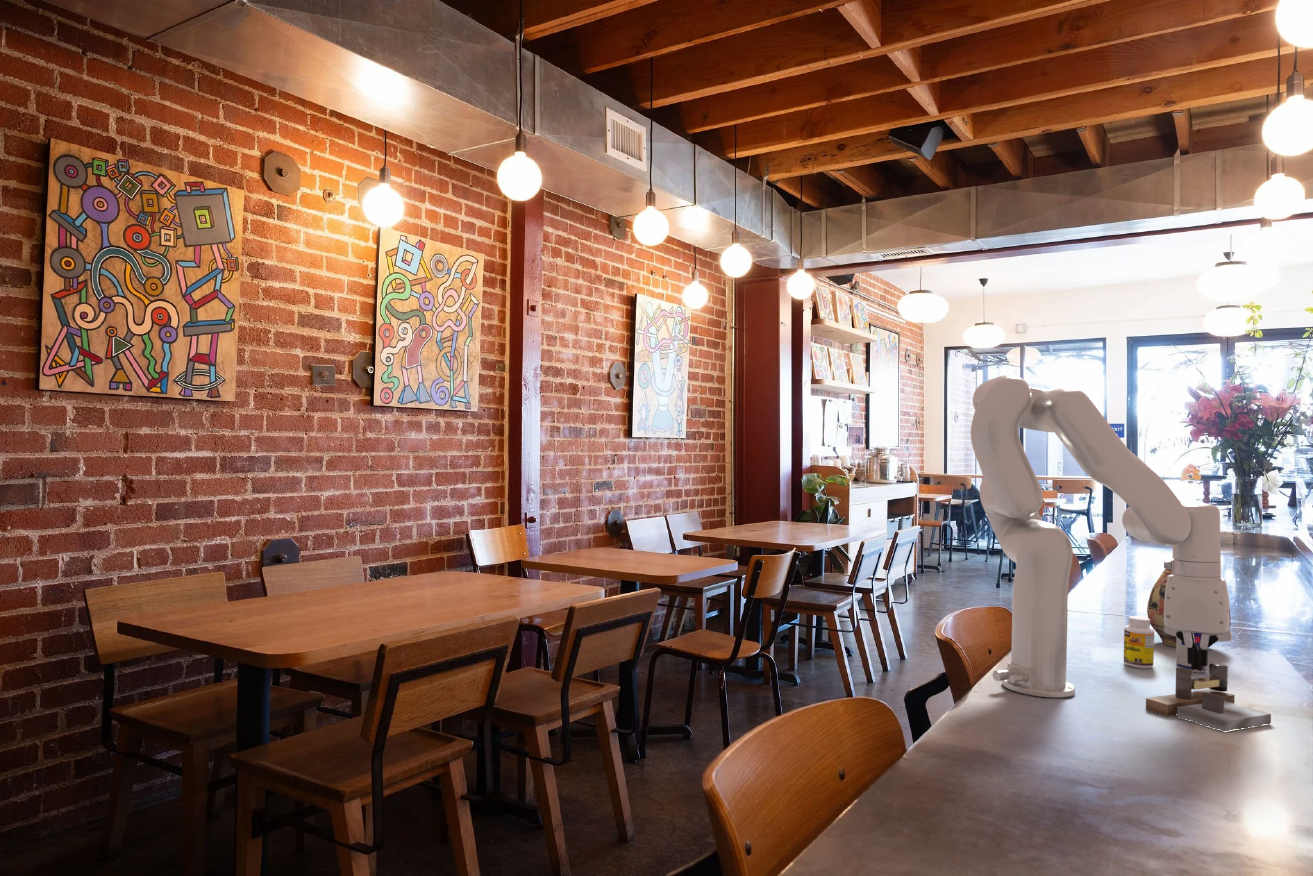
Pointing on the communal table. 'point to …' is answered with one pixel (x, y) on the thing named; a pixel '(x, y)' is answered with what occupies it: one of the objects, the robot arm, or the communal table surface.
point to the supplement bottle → (1139, 643)
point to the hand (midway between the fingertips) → (1197, 668)
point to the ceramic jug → (1159, 608)
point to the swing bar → (1213, 678)
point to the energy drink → (1182, 653)
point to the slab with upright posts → (1206, 706)
